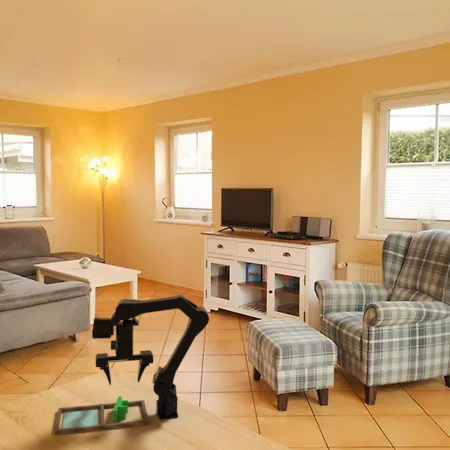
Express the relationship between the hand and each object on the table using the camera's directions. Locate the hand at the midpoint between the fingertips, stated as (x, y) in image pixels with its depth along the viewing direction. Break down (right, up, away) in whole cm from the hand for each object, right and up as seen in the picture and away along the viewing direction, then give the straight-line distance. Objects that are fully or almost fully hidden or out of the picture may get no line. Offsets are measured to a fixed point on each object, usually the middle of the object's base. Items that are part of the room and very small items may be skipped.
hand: (124, 383), depth 162 cm
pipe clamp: (-1, -12, +1) cm, 12 cm away
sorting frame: (-7, -11, -1) cm, 13 cm away
